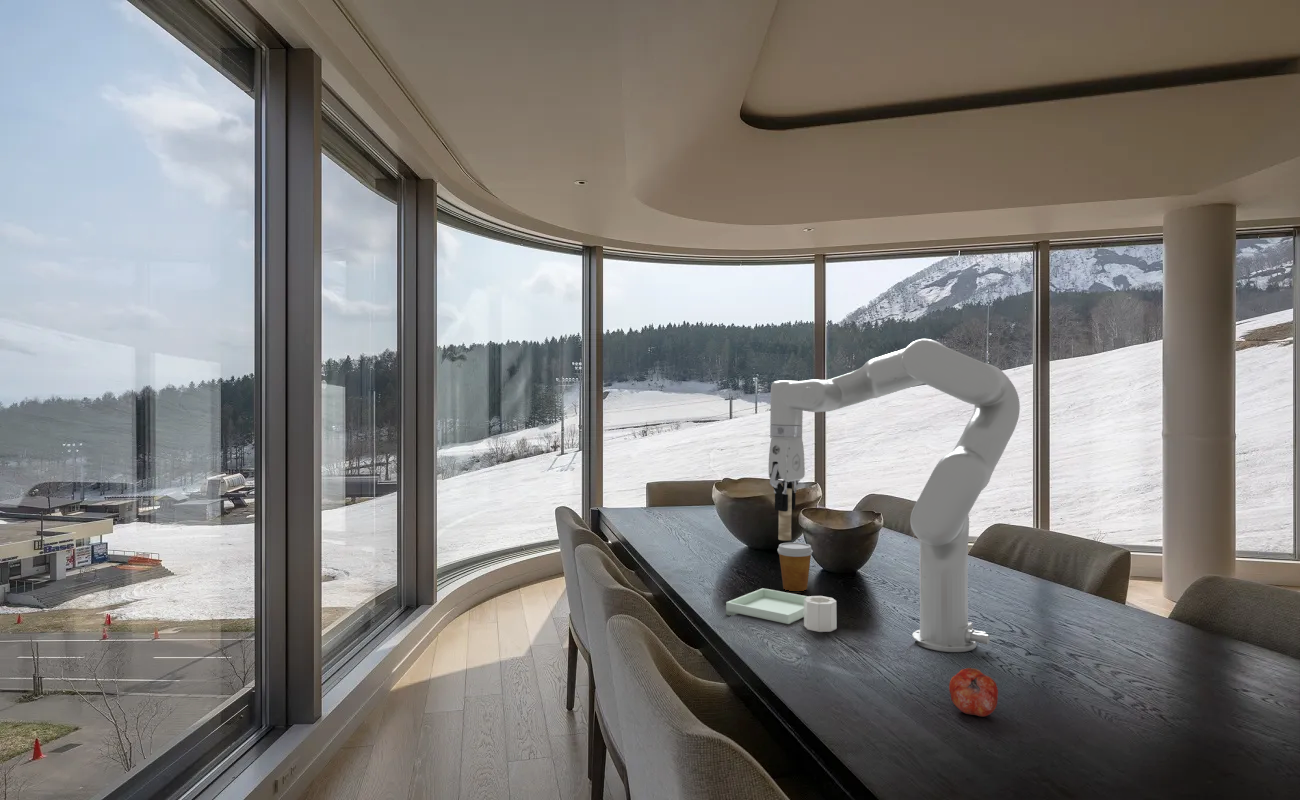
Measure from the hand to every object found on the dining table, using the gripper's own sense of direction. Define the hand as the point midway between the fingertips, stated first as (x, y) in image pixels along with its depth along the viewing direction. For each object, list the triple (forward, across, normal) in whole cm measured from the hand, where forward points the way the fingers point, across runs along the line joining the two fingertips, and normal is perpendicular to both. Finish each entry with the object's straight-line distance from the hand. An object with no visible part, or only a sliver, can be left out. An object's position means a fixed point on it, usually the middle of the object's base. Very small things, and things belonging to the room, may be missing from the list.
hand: (785, 509), depth 173 cm
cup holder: (+26, -4, -12) cm, 28 cm away
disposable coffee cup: (+26, +25, +10) cm, 38 cm away
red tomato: (+25, -28, -50) cm, 63 cm away
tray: (+26, +2, +3) cm, 26 cm away
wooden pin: (+7, 0, 0) cm, 7 cm away
